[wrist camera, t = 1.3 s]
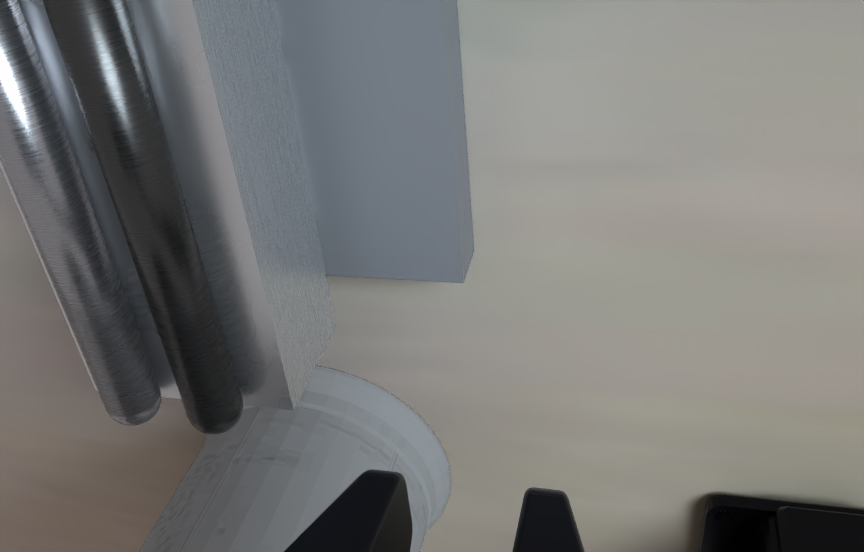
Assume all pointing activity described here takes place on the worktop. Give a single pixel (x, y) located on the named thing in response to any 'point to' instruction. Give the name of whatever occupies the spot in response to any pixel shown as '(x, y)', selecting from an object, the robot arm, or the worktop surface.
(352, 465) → the grey rounded piece
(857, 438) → the worktop surface
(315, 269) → the swing arm
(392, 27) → the label board
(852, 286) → the worktop surface
